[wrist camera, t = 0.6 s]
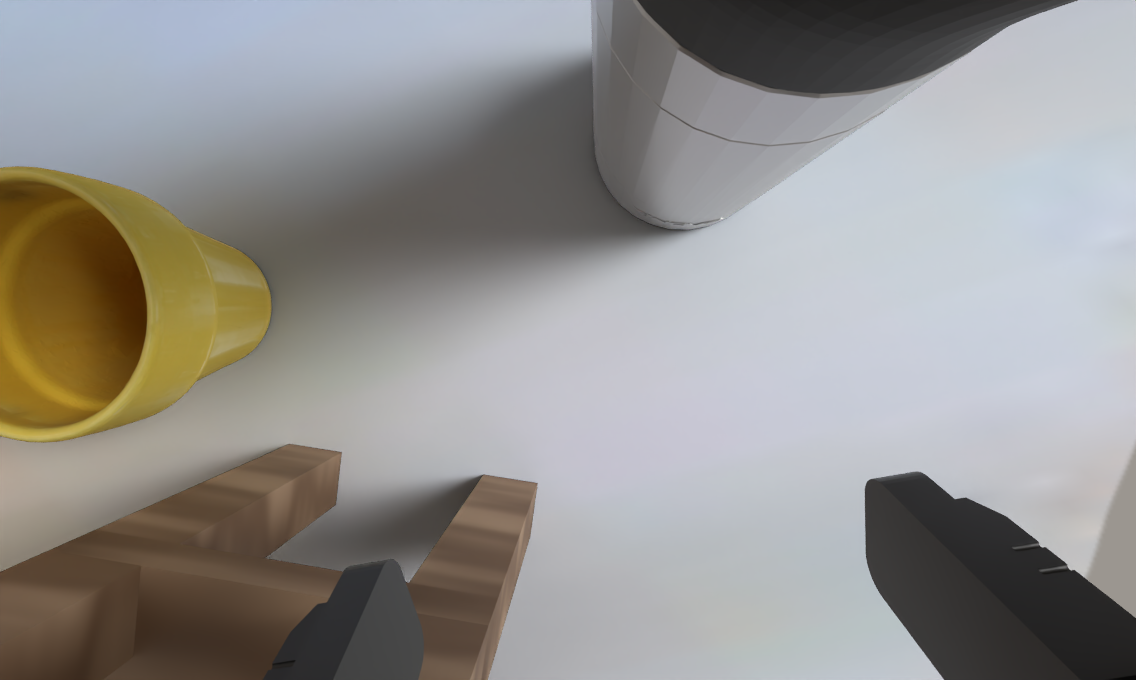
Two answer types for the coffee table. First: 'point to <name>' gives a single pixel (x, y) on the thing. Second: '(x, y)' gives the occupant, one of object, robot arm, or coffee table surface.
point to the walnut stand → (246, 581)
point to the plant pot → (110, 306)
